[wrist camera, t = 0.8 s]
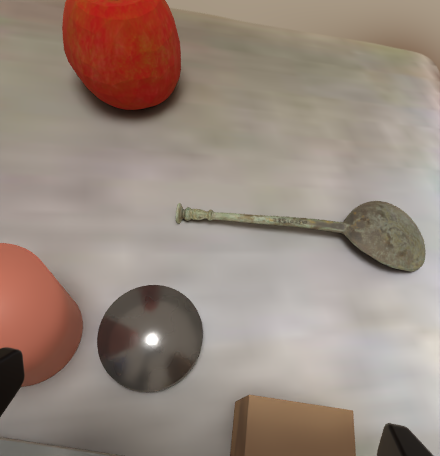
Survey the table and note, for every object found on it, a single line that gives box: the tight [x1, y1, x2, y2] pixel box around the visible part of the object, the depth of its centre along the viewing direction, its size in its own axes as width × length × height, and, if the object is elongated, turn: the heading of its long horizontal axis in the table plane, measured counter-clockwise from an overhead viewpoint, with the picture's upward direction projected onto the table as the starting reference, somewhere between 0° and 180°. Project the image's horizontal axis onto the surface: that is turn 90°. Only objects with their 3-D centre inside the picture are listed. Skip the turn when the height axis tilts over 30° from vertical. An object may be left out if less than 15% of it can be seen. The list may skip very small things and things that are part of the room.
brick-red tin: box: [0, 243, 83, 387], centre depth 21 cm, size 7×7×7 cm
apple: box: [62, 0, 181, 110], centre depth 32 cm, size 11×11×11 cm
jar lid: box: [97, 285, 203, 392], centre depth 24 cm, size 7×7×1 cm
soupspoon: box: [176, 201, 425, 272], centre depth 29 cm, size 22×3×7 cm
